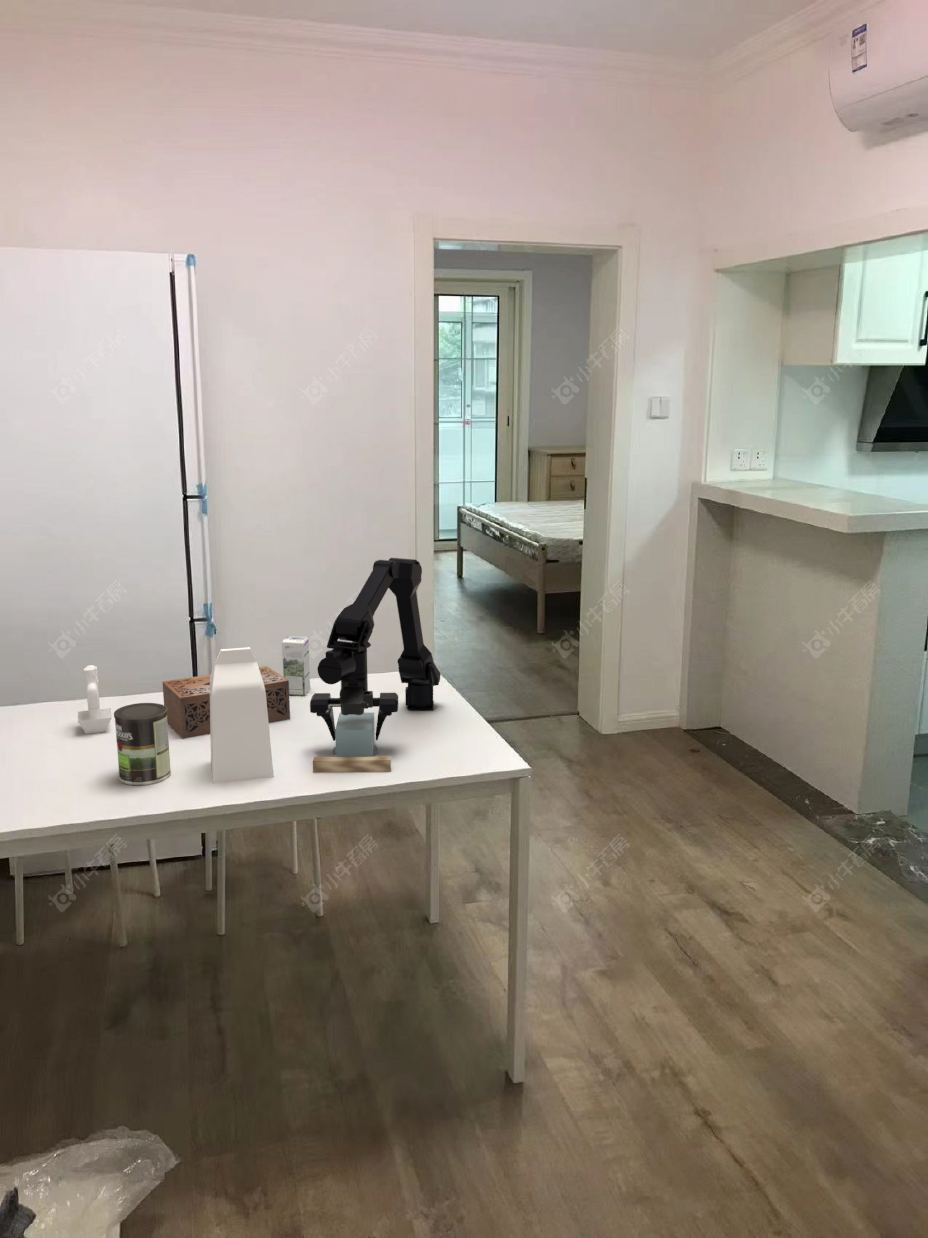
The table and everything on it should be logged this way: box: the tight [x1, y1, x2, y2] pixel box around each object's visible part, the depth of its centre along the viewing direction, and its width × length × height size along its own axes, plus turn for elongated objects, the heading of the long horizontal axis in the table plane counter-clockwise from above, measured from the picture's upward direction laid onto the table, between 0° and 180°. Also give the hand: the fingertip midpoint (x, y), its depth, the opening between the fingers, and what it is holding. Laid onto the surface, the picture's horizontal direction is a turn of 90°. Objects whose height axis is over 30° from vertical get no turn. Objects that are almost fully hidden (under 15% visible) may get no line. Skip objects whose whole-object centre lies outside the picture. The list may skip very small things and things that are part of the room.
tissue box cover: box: [161, 665, 291, 740], centre depth 237 cm, size 26×14×10 cm, turn 122°
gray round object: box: [332, 744, 380, 757], centre depth 218 cm, size 10×10×1 cm
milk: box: [209, 646, 274, 784], centre depth 205 cm, size 12×12×26 cm
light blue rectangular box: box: [335, 712, 376, 757], centre depth 218 cm, size 8×11×7 cm
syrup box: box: [281, 636, 311, 697], centre depth 257 cm, size 6×6×14 cm
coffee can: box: [113, 702, 172, 786], centre depth 203 cm, size 10×10×14 cm
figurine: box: [77, 664, 112, 735], centre depth 229 cm, size 7×9×15 cm
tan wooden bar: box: [312, 756, 392, 773], centre depth 207 cm, size 16×2×2 cm, turn 92°
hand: (355, 740), depth 218 cm, fingers open, 9 cm apart
